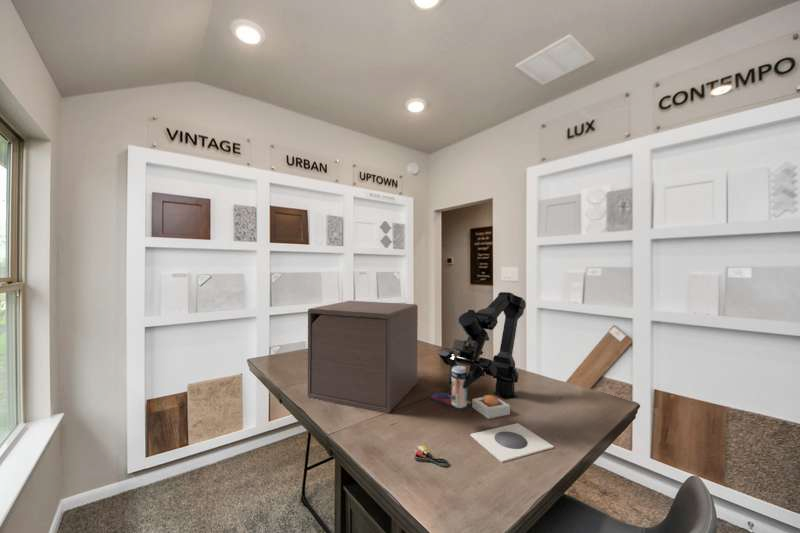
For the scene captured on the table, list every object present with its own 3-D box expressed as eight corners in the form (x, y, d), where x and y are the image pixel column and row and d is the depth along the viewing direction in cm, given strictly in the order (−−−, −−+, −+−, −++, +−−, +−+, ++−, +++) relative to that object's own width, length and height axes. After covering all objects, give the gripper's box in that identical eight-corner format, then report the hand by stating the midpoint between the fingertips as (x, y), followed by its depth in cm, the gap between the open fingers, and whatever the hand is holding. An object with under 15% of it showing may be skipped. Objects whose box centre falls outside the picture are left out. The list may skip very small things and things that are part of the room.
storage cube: (307, 397, 121) (307, 307, 121) (347, 373, 148) (347, 300, 148) (389, 414, 108) (390, 313, 108) (417, 384, 135) (417, 304, 135)
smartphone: (439, 394, 127) (439, 391, 127) (473, 404, 117) (473, 401, 117) (428, 399, 121) (428, 397, 121) (462, 411, 111) (462, 408, 111)
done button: (492, 399, 114) (492, 394, 114) (501, 405, 110) (501, 399, 110) (480, 401, 112) (480, 396, 112) (489, 407, 108) (489, 401, 108)
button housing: (492, 403, 117) (492, 395, 117) (509, 414, 109) (509, 405, 109) (472, 407, 114) (472, 399, 114) (488, 418, 105) (488, 409, 105)
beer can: (449, 402, 102) (449, 365, 102) (464, 401, 103) (464, 364, 103) (454, 409, 97) (454, 370, 97) (469, 408, 98) (469, 369, 98)
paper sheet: (517, 424, 102) (517, 422, 102) (553, 447, 89) (553, 445, 89) (470, 435, 95) (470, 433, 95) (501, 462, 82) (501, 460, 82)
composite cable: (450, 465, 81) (450, 455, 81) (440, 474, 78) (440, 464, 78) (419, 450, 88) (419, 441, 88) (409, 458, 84) (409, 449, 84)
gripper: (442, 325, 109) (421, 365, 101) (492, 333, 96) (474, 380, 88) (454, 344, 115) (436, 383, 107) (504, 354, 102) (487, 399, 94)
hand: (456, 385), depth 99 cm, fingers closed on beer can, 5 cm apart
